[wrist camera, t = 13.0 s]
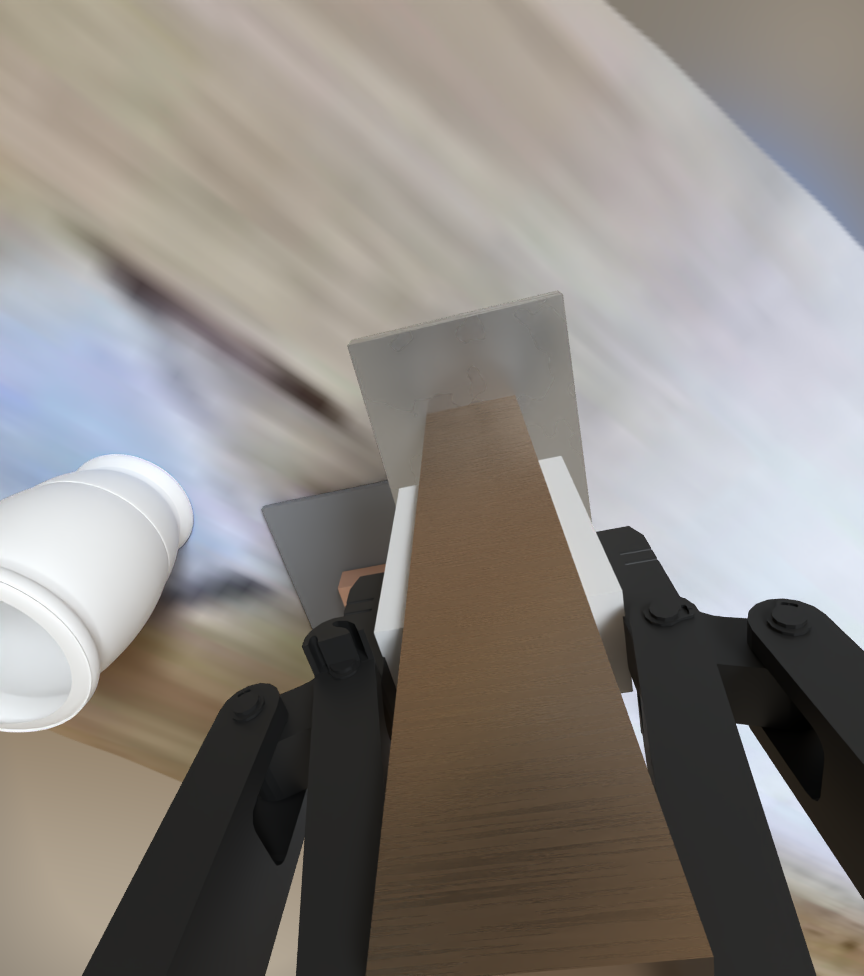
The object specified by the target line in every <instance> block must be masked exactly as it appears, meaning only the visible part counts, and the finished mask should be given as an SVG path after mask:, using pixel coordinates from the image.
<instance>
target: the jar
mask: <svg viewBox="0 0 864 976" xmlns="http://www.w3.org/2000/svg"><path fill="white" fill-rule="evenodd" d="M192 527H193V511H192V507H191V504H190V501H189V498H188V496H187V495H186V493H185V491H184V490H183V488H182V487H181V486H180V484H179V483H178V482H177V481H176V480H175V479H174V478H173V477H172V476H171V475H170V474H168V473H167V472H166V471H165V470H163V469H162V468H160V467H158V466H157V465H155V464H153V463H151V462H149V461H147V460H144V459H142V458H138V457H135V456H130V455H123V454H109V455H103V456H99V457H96V458H93V459H91V460H89V461H87V462H86V463H84V464H83V465H82V466H81V467H80V468H79V469H78V470H77V471H76V472H71V473H67V474H63V475H60V476H57V477H54V478H52V479H49V480H47V481H45V482H42V483H40V484H38V485H36V486H34V487H33V488H30V489H27V490H24V491H22V492H19V493H16V494H14V495H12V496H10V497H7V498H5V499H3V500H1V501H0V731H5V732H32V731H39V730H44V729H48V728H52V727H55V726H58V725H60V724H62V723H64V722H66V721H68V720H69V719H71V718H72V717H74V716H75V715H76V714H77V713H78V712H79V711H80V710H81V709H82V708H83V707H84V706H85V705H86V704H87V702H88V701H89V700H90V699H91V697H92V696H93V694H94V692H95V690H96V688H97V685H98V682H99V677H100V673H101V672H102V671H104V670H105V669H106V668H107V667H108V666H109V665H110V664H111V663H112V662H113V661H114V660H115V659H116V658H117V657H118V656H119V655H120V654H121V653H122V652H123V651H124V650H125V649H126V648H127V647H128V646H129V644H130V643H131V642H132V641H133V640H134V638H135V637H136V636H137V635H138V633H139V632H140V631H141V629H142V628H143V626H144V625H145V623H146V622H147V620H148V619H149V617H150V615H151V614H152V612H153V610H154V608H155V606H156V604H157V602H158V600H159V598H160V596H161V593H162V591H163V588H164V586H165V583H166V581H167V579H168V578H169V575H170V573H171V571H172V569H173V566H174V563H175V560H176V556H177V552H178V549H179V548H180V547H182V546H183V545H184V543H185V542H186V541H187V539H188V538H189V536H190V534H191V531H192Z"/></svg>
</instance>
